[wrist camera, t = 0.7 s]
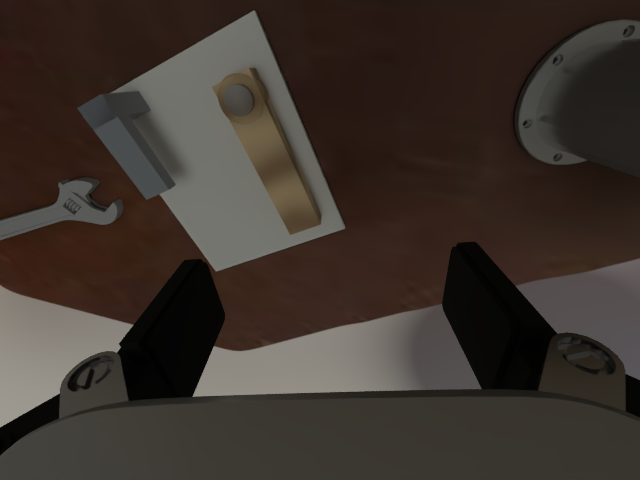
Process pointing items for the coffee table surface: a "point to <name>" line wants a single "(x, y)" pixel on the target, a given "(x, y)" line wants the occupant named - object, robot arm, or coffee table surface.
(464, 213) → the coffee table surface
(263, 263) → the coffee table surface
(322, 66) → the coffee table surface
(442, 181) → the coffee table surface
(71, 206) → the adjustable wrench
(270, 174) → the tan bar
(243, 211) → the mounting board
